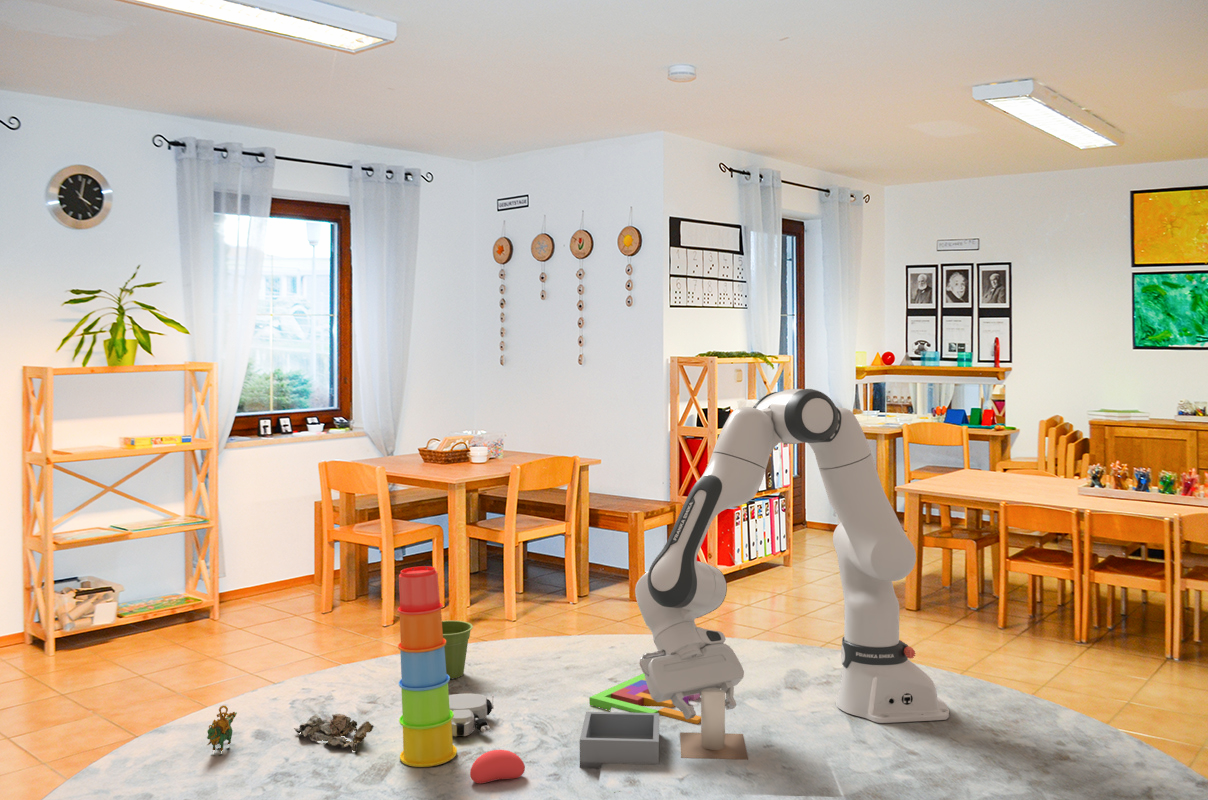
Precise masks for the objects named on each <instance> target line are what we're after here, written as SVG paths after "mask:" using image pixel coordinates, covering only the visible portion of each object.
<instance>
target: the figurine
mask: <svg viewBox="0 0 1208 800" xmlns="http://www.w3.org/2000/svg"><path fill="white" fill-rule="evenodd" d="M223 708H224V709H225V711H224V712H223V711H222V709H223ZM228 708H229V707H228V706H226V705H224V704H223V705H220V706H219V709H218V712H219V713H217V714H216V718H218V719H217V720H216V719H213V721H212V724H209V726H208V729H207V736H206V738H207V740H209V742H208V743H207V744H206V746H210V745H212V750H215V751H216V750H217V747H216V746H217V745H219V746H220V745H221V748H220V749H219V751H220V750H221V751H222V750H223V751H224V743H225V742H226V741H227V745H228V744H230V743H231V744H232V738H233V737H232V736H233V728H232V726H231V725H232V723H233V722H234V719H235V718H236V716H237V714H238V712H235V711H232V712H229V709H228ZM228 712H229V713H228ZM231 744H230V745H231ZM223 751H222V752H223Z"/></svg>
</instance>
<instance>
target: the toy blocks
mask: <svg viewBox="0 0 1208 800" xmlns="http://www.w3.org/2000/svg"><path fill="white" fill-rule="evenodd" d="M700 695H701V693H699V694H694V695H690V696H685V697H684V698H683V700H684V701H685V702H686V703H687V704H688V705H689V704H690V703H689V700H691V701H696V700H698V699H701V696H700ZM588 703H589V704H590V705H593V706H596V707H595V708H597V707H600V708H603V709H602V710H604V709H607V710H606V711H608V710H610V711H609V712H612V711H611V710H612V708H615V709H619V710H623V711H626V712H628V713H659V716H664V717H667V718H672V719H674V720H675V719H676V720H678V721H679V720H680V721H683V722H686V723H689V724H690V723H691V724H694V725H698V724H701V715H697V714H696V715H695V716H694V718H691V719H685V717H684V714H683V712H682V711H680V710H677V709H673V708H677V707H676V706H674V705H673V703H672V701H671V700H667V701H662V702H656V701H655V700H654V699H652V697H651V695H650V692H649V689H648V686H647V683H646V679H645V674H644V673H643V672H642V673H641V674H639V675H637V676H634V677H632V678H630V679H627V680H626V681H623V682H621V683H618V684H616V685H614V686H612V687H610V688H607V689H605V690H603V691H600V692H598V693H596V694H594V695H592V696H591V695H590V696H589V702H588ZM593 706H592V707H593ZM651 707H656V708H657V707H660V708H661V707H662V708H661V709H659V710H658V709H656V708H655V709H654V708H651ZM600 708H599V709H600Z"/></svg>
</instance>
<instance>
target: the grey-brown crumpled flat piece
mask: <svg viewBox="0 0 1208 800" xmlns="http://www.w3.org/2000/svg"><path fill="white" fill-rule="evenodd" d="M331 716H332V718H331V719H328V720H327V719H322V718H321V716H319V715H317V714H313V715H312V716H311V717H310V718H308V720H307V721H306V722H304V723H302V724H300V725H299V727H294V728H293V730H295V732H296V733H297V734H298V733H300V732H301V734H300V735H298V737H300V736H301V735H303V737H307V736H309V735H310V738H309V740H311V741H312V742H314V741H315V742H316V741H322V740H323V741H328V742H327V743H328V744H326V743H324V744H323V745H325V744H326V745H329V746H335V747H336V746H338V745H339V746H341V748H346V747H348V746H350V747H351V751H350V752H352V750H353V751H356V752H357V749H358V745H360V744H361V743H363V742H364V739H365V738H366V737H367V733H371V732H372V731H373V729H374V727H375V726H374V725H372V724H371V723H370V721H367V720H365V721H364V722H363V723H362V724H361V725H360V726H359V727H358V722H357V721H356V720H354V719H353V720H352V718H351V717H349V716H347V715H345V714H342V713H332V714H331ZM351 720H352V721H351ZM353 732H354V735H352V738H353V736H354V738H353V739H352V740H351V742H350V741H346V740H347V739H345V738H344V737H341V736H345V737H347V736H348V735H349V734H351V733H353ZM301 737H302V736H301ZM301 737H300V738H301Z"/></svg>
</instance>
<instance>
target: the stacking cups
mask: <svg viewBox="0 0 1208 800" xmlns="http://www.w3.org/2000/svg"><path fill="white" fill-rule="evenodd" d="M398 583H399V584H398V588H399V592H398V593H399V607H397V612H398V613H399V628H400V629H399V630H400V633H399V634H400V642H399V643H398V644H397V648H398V650H399V651H400V671H401V673H400V674H401V679H399V681H398V686H399V688H400V690H401V708H402V709H401V710H402V711H401V712H402V715H400V716H399V719H398V722H399V723H398V724H399V725H400V726H402V743H403V745H402V747H403V750H402V751H401V752H400V754H399V759H400V761H401V763H403V764H404V765H406V766H409V767H414V768H429V767H430V768H431V767H436V766H440V765H442V764H446V763H448V762H449V761H451V760H453V759H454V758H455V757H456V756H457V753H458V749H457V747H456V746H455V745H454V744H453V743H454V742H453V739H454V738H453V735H452V722H451V720H452V719H453V717H454V713H453V712H452V711H451V710H450V706H449V695H450V694H449V682H450V680H451V678H450V677H449V675H447V674H446V662H445V648H444V645H445V644H446V639H444V638H443V630H442V621H443V620H442V609H443V606H444V605H443V603H441V601H440V600H441V599H440V589H439V588H440V586H439V574H438V571H437V570H436V567H433V566H430V565H429V566H427V565H422V566H421V565H420V566H412V567H407V568H403V569H402V570H400V573H399V575H398Z"/></svg>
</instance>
